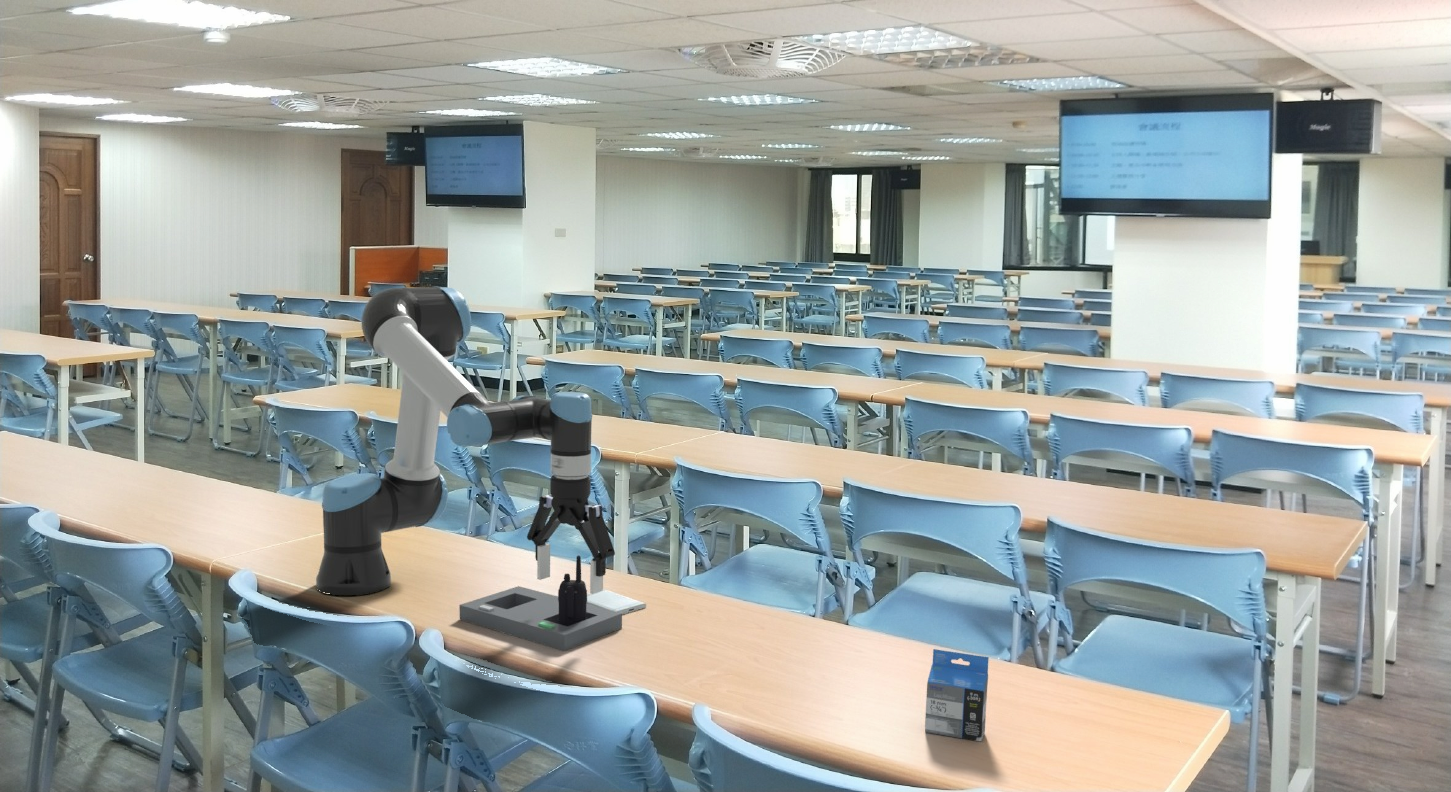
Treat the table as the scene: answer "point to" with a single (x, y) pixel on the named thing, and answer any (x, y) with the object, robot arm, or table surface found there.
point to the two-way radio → (572, 598)
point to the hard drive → (614, 602)
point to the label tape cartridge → (957, 696)
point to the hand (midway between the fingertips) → (569, 585)
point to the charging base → (538, 618)
